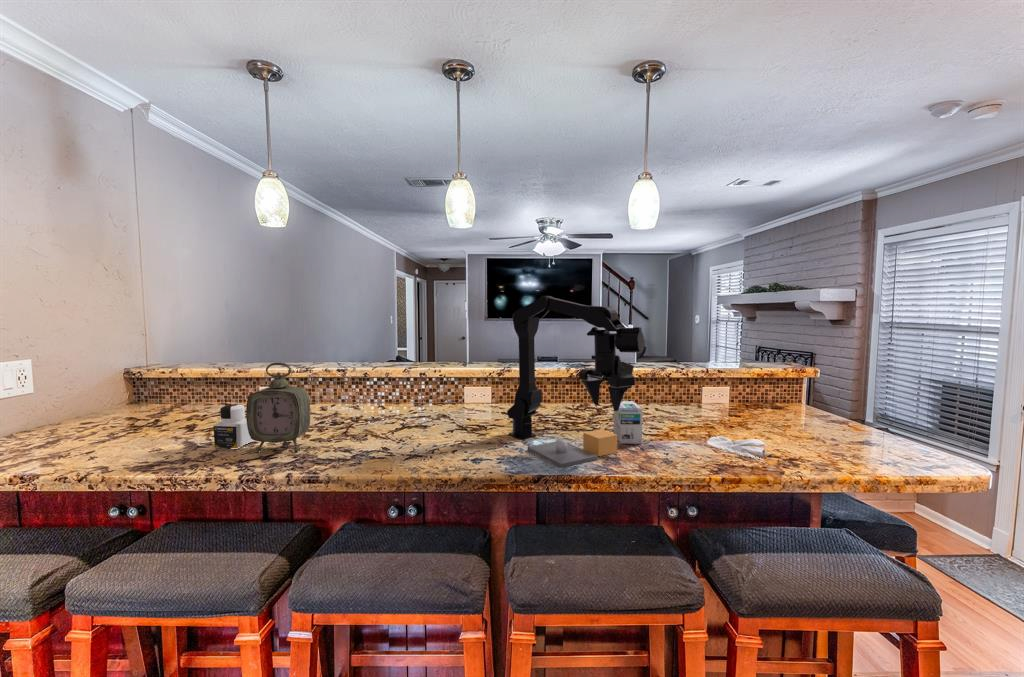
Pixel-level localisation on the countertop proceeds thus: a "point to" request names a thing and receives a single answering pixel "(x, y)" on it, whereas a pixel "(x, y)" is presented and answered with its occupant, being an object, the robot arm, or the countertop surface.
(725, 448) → the cloth
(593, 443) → the tan wooden cube
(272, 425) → the tabletop clock
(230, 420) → the medicine bottle
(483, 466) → the countertop surface
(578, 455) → the post board
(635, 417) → the light bulb box
